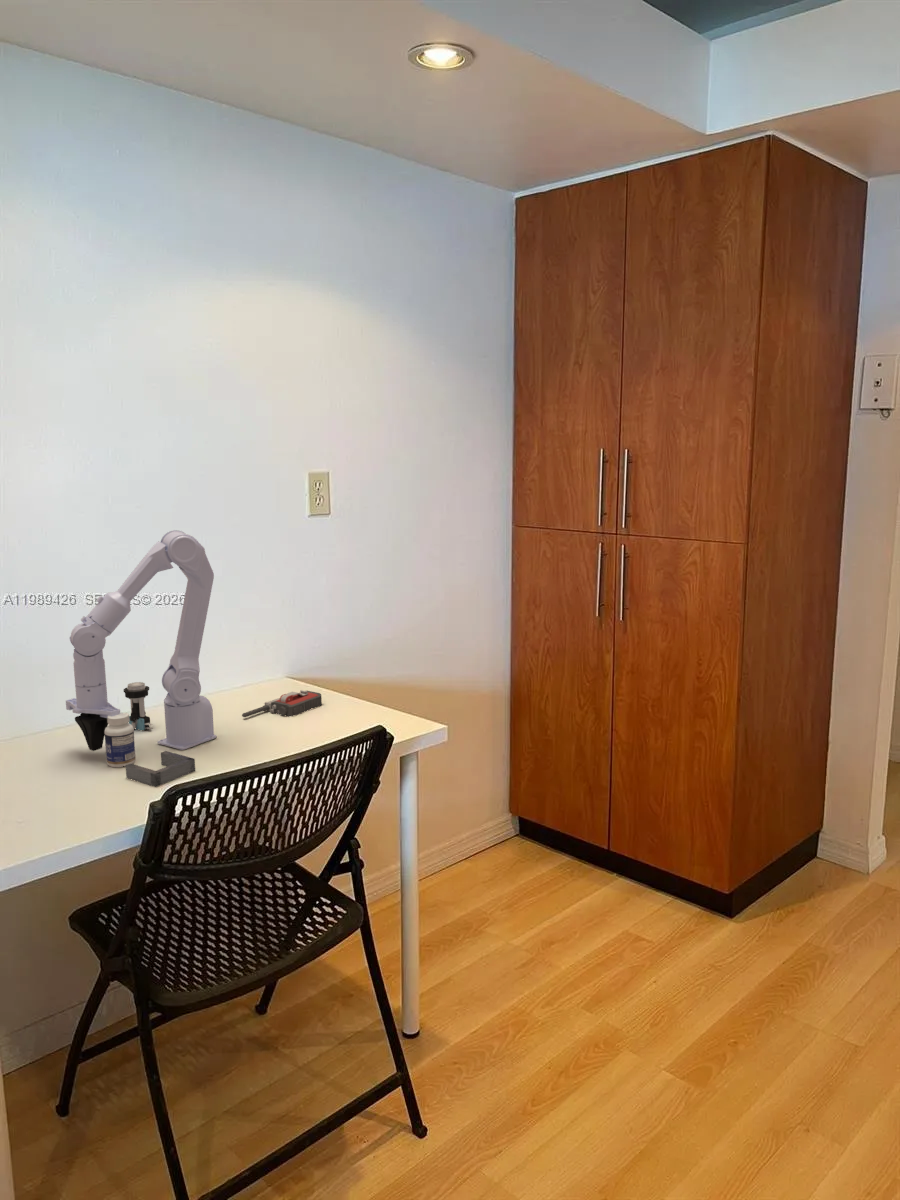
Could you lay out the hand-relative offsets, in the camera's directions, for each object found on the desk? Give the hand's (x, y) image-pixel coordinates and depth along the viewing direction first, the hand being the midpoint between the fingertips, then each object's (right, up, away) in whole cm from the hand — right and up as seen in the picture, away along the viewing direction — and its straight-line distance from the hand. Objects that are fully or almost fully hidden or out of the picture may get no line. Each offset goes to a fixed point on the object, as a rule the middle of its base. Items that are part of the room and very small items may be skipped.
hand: (95, 748), depth 181 cm
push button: (+3, +1, +17) cm, 17 cm away
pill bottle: (+7, -2, -4) cm, 8 cm away
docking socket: (+16, -3, -10) cm, 19 cm away
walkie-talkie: (+32, +3, +29) cm, 44 cm away
